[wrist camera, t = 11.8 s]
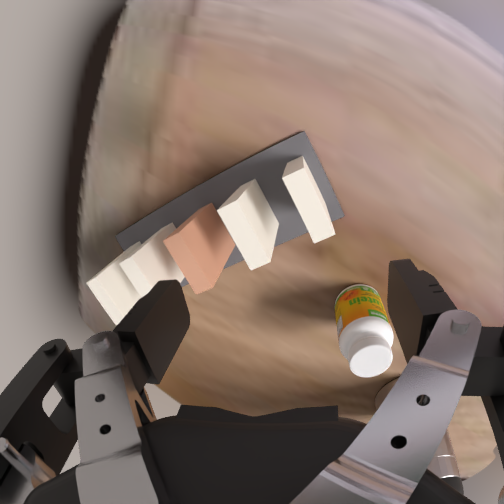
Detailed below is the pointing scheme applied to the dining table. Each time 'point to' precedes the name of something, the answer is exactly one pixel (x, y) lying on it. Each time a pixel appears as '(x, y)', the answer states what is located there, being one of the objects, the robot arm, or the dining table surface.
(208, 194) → the mat
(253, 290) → the dining table surface
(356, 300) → the supplement bottle
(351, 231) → the dining table surface
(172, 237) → the domino
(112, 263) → the domino
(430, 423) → the robot arm
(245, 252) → the domino
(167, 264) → the domino
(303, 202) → the domino
